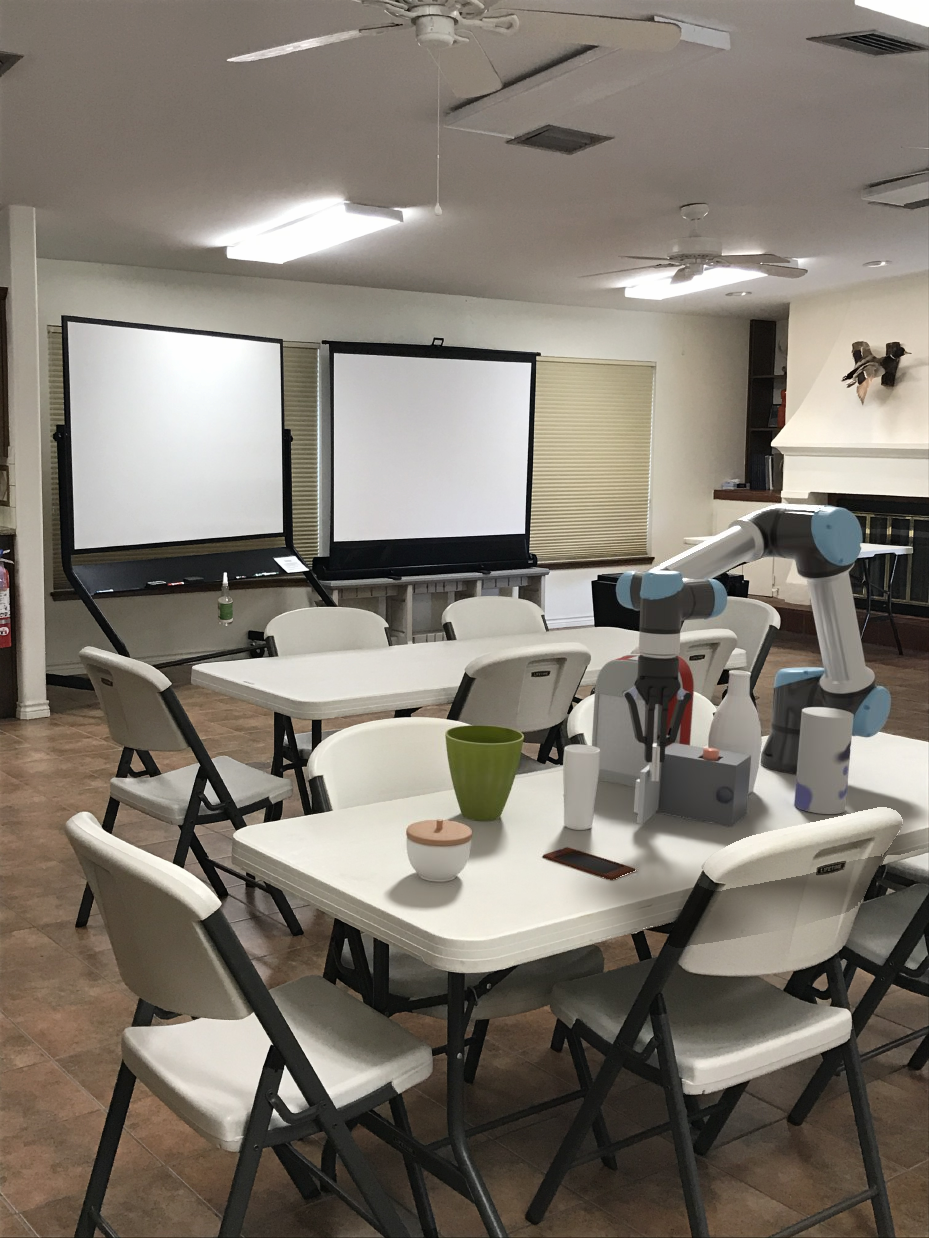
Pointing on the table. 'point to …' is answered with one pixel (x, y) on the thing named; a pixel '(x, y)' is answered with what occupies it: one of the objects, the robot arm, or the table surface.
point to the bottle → (738, 723)
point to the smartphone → (588, 863)
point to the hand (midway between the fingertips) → (653, 778)
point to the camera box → (704, 785)
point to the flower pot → (483, 768)
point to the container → (823, 760)
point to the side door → (646, 795)
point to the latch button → (711, 754)
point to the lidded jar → (438, 848)
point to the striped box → (629, 719)
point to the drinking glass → (580, 785)
